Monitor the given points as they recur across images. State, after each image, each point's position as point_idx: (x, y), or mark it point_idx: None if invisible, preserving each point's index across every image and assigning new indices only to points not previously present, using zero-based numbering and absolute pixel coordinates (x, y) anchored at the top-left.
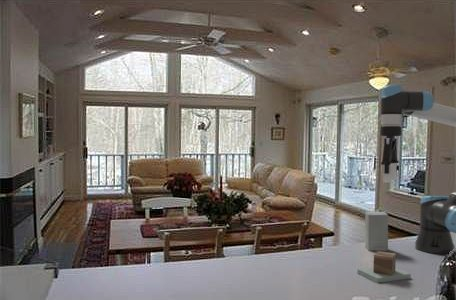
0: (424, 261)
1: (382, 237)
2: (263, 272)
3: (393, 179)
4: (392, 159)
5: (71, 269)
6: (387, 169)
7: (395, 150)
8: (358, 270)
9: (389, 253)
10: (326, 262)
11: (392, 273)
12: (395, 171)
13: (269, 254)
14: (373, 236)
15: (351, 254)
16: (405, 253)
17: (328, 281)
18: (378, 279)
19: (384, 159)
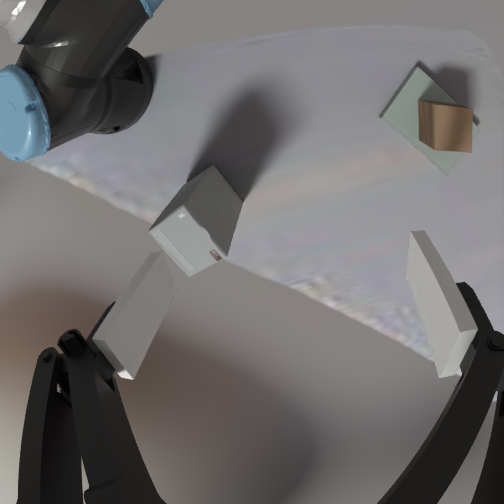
0: (244, 62)
1: (215, 188)
2: (483, 297)
3: (167, 265)
4: (110, 391)
5: (494, 399)
6: (478, 312)
7: (120, 483)
8: (447, 172)
9: (442, 119)
10: (400, 245)
11: (451, 103)
12: (137, 293)
13: (393, 333)
14: (230, 209)
15: (306, 224)
16: (199, 123)
17: (498, 206)
18: (476, 126)
19: (502, 402)
